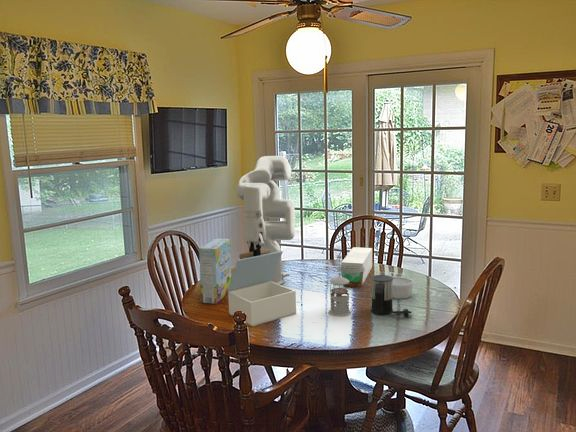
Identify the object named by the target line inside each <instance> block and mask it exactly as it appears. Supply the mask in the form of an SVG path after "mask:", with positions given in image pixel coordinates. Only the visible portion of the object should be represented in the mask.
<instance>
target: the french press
mask: <svg viewBox="0 0 576 432" xmlns="http://www.w3.org/2000/svg"><path fill="white" fill-rule="evenodd" d="M336 258H337V259H338V276H337V277H333V278H332V279H331V280H329V282H330V285H329V292H330V294H329V295H330V296H329V297H330V309H329V310H328V311H327V314H328V315H330V316H331V317H336V318H337V317H338V318H341V317H343V318H344V317H349V316H350V315H351V314H352V311H351V310H350V294H349V289H348V288H346V287H341V286H343V285H346V284H348V283H349V280H347V279H346V278H343V277H341V274H340V273H341V270H340V267H341V262H340V260H341V259H342V255H341V254H338V255H336ZM332 285H333V287H332ZM335 286H338V287H335ZM331 287H332V288H331Z"/></svg>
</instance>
